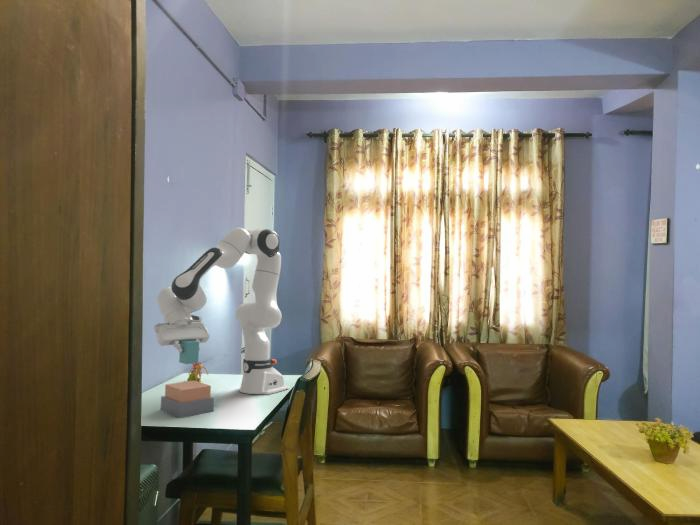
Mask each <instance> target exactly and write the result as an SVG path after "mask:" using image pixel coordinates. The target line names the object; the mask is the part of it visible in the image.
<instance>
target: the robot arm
mask: <svg viewBox="0 0 700 525" xmlns="http://www.w3.org/2000/svg"><path fill="white" fill-rule="evenodd" d="M279 251H280V238H279V234H278V233H277V232H276V231H275V230H271V229H267V228H265V229H263V228H262V229H261V228H260V229H253V230H246V229H245V228H242V227H239V226H238V227H234V228H233V229H231V231H229V232H228V233H227V234H226V235H225V236H224V237H223V238H222V239H220V241H219V242H218V243H217V245H215V246H214V247H211V248H209V249H207V250H206V251H205V252H204V253H203V254H202V255H200V257H199V258H198V259H197V260H196V261H195V262H194V263H192V265H191V266H190V267H188V268H187V269H186V270H185V271H183V272H182V273H179V275H178V274H177V276H176V277H175V278H173V281H172V282H171V286H167V287H164V288H163V289H161V290H160V291H159V292H158V295H157V304H158V308H159V310H160V313H161V315H162V316H163V321H164V322H163V323H156V324H154V327H153V328H154V332H155V333H156V339H157V342H158V344H159V345H160V346H173V347H174V348H175V350H177V351H178V353H179V354H180V353H183V352H184V351H185V349H184V347H181V346H180V341H188V340H194V341H198V342H199V344H200V343H201V344H202V343H207V342H208V340H209V339H210V336H211V335H210V334H211V333H210V332H209V330H208V328H207V326H206V324H204V322H202V320H203V319H202V317H201V316H199V315H194V314H192V313H195V312H198V311H199V310H201V309H203V307H205V305H206V303H207V296H206V294H205V292H204V290H203V288H202V287H201V284H200V282H201V279H202V278H203V277H204V276H205V275H206V274H207V273H208V272H209V271H210V270H211V269H212V268H213V267H215V266H216V267H219V268H222V269H231V268H233V267H234V266H235V265H237V263H238V262H239V261H240V260H241V258H242V257H243V256H244V254H248V255H256V259H257V263H256V267H255V270H254V275H253V280H252V284H251V290H252V291H253V292H254V297H255V300H254V301H255V302H253V301H249V302H245V303H241V304H240V305H239V306H237V309H236V311H235V316H236V319H237V321H238V323H239V324H240V326H241V331H242V335H243V338H244V356H243V357H244V358H242V359H243V361H242V370H243V371H242V379H241V383H240V387H239V390H238V391H239V392H241V393H243V394H247V395H272V394H275V393H278V392H282V391H287V390H289V389H290V387H289V385H288V384H285V380H284V379H285V378H284V376H283V374H282V373H281V372H279V370H277V369H276V368H274V367H273V365H277V363H278V361H277V359H275V358H273V359H271V358H270V351H271V350H270V349H271V342H270V339H269V338H268V336H267V334H266V331H265V330H270V329H275V328H277V327H279V325H280V323H281V322H282V318H283V316H282V311H281V310H280V308H279V306H278V299H277V292H278V291H277V290H278V287H279V286H278V284H279V279H280V275H281V268H282V255H281V253H280V252H279ZM200 350H201V348H200V346H199V351H200ZM286 389H287V390H286Z"/></svg>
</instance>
